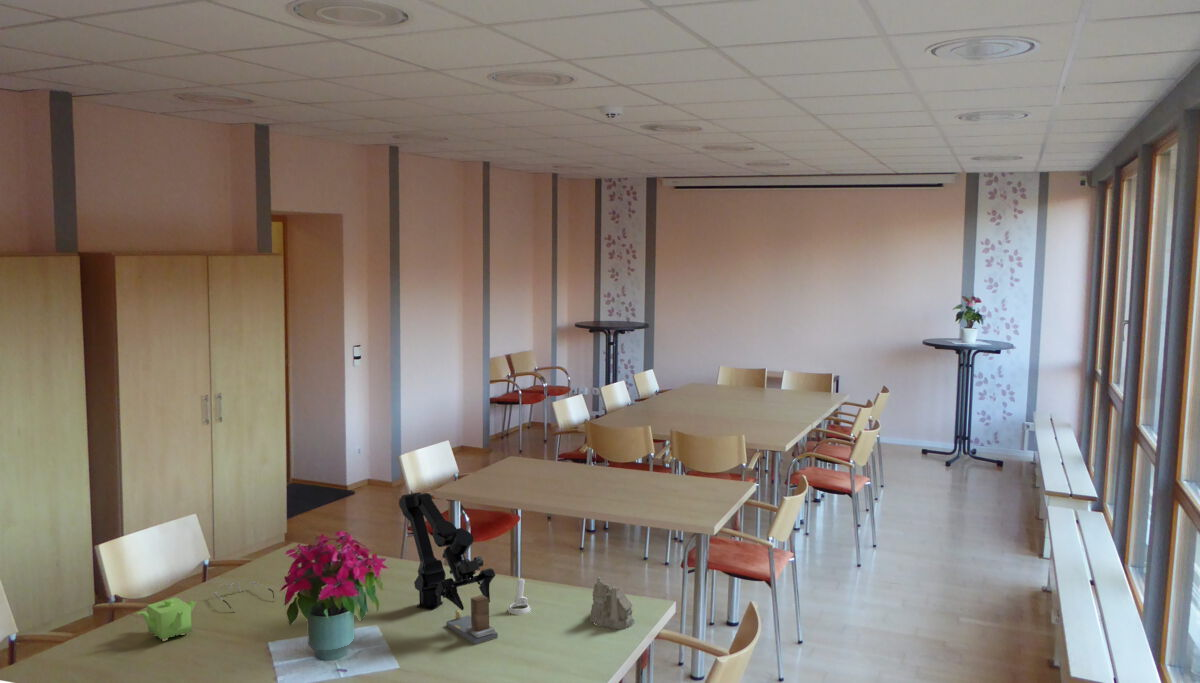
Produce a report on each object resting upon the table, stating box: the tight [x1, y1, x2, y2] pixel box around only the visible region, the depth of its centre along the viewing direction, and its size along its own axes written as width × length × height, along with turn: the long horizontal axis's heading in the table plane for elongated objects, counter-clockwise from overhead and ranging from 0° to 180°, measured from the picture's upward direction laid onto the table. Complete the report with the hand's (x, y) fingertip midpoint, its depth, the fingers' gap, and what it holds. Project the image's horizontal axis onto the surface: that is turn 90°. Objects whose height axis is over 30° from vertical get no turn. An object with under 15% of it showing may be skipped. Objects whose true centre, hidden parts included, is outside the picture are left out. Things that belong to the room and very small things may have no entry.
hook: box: [507, 578, 532, 615], centre depth 306 cm, size 8×12×7 cm
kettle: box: [136, 597, 197, 640], centre depth 286 cm, size 15×14×11 cm
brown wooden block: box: [466, 594, 496, 638], centre depth 282 cm, size 7×6×11 cm
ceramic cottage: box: [589, 576, 635, 630], centre depth 297 cm, size 16×16×15 cm
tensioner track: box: [445, 609, 499, 645], centre depth 287 cm, size 18×8×4 cm, turn 38°
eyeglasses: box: [213, 577, 275, 609], centre depth 315 cm, size 16×19×5 cm
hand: (476, 606), depth 284 cm, fingers open, 9 cm apart
